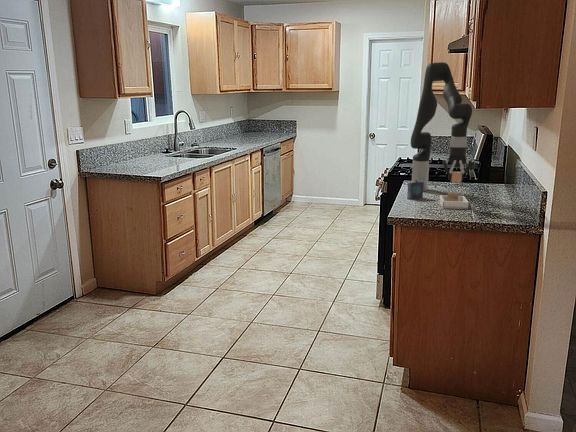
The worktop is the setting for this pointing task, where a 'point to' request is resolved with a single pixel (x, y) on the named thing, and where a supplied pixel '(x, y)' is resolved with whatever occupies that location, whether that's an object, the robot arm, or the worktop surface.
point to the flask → (415, 189)
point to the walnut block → (452, 196)
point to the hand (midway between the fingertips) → (455, 180)
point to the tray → (453, 203)
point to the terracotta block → (456, 177)
